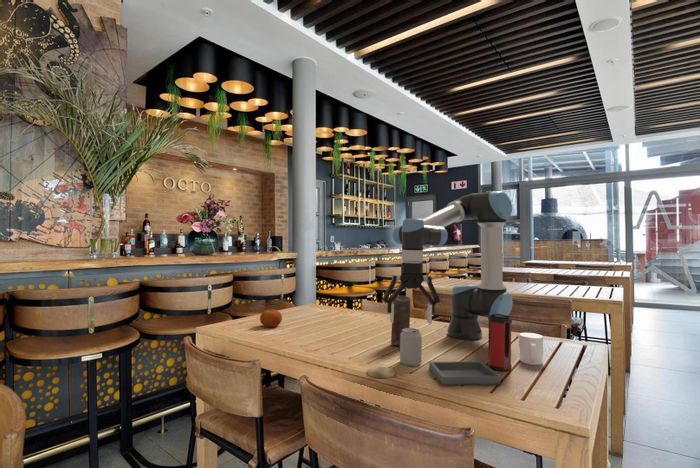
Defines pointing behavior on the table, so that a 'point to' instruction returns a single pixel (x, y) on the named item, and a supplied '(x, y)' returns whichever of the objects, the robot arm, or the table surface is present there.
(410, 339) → the can
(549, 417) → the table surface
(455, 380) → the tray
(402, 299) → the dark brown bottle
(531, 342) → the mug
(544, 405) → the table surface
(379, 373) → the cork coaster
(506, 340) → the speaker
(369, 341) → the table surface
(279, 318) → the fruit
